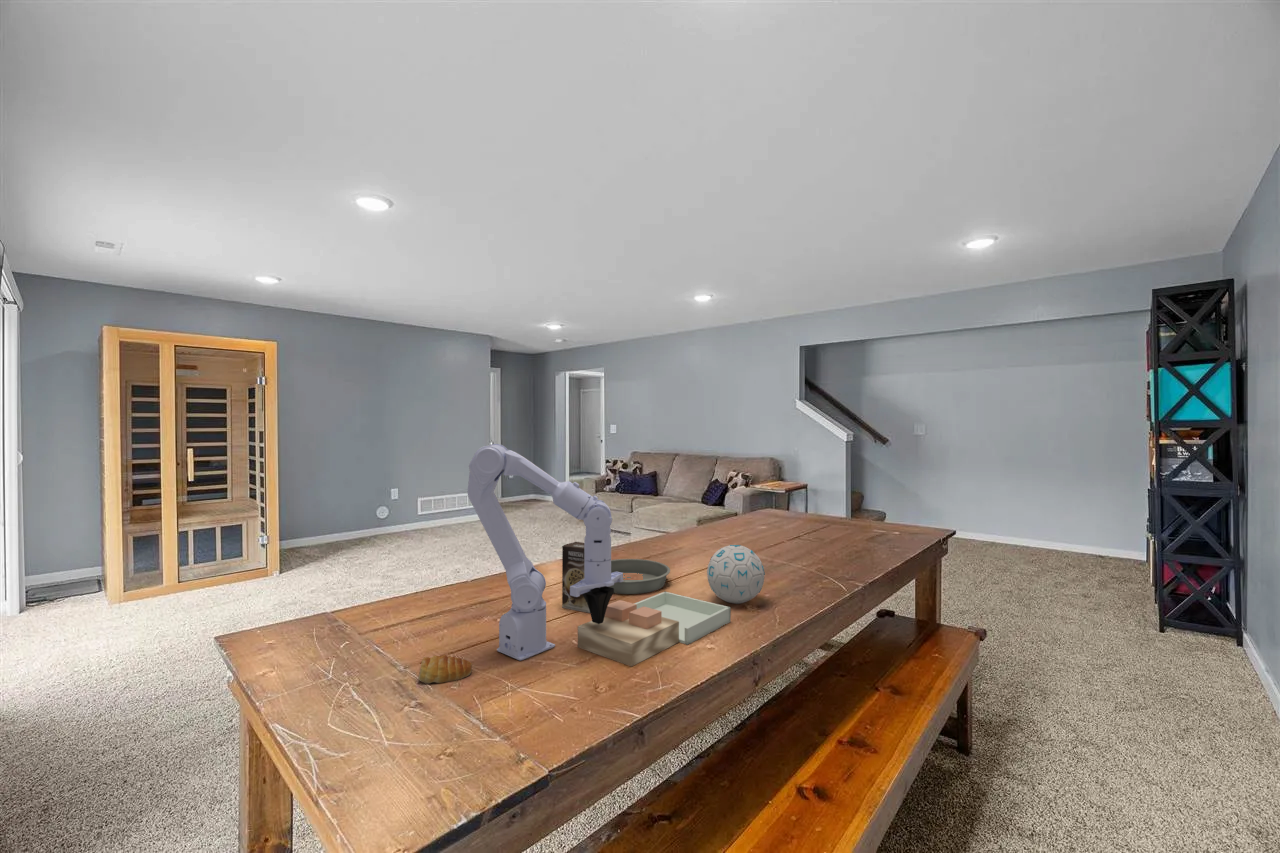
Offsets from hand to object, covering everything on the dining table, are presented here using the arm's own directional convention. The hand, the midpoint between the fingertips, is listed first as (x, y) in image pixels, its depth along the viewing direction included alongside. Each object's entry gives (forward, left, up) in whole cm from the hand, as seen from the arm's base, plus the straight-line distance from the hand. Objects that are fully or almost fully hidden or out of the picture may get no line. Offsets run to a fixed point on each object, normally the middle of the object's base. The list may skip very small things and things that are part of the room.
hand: (597, 622), depth 123 cm
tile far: (+7, 0, -1) cm, 8 cm away
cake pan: (+40, +26, -6) cm, 48 cm away
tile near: (+7, -7, -1) cm, 10 cm away
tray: (+22, -4, -5) cm, 23 cm away
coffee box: (+16, +21, -5) cm, 27 cm away
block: (+5, -4, -5) cm, 9 cm away
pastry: (-29, +13, -6) cm, 32 cm away
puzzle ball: (+45, -7, -5) cm, 46 cm away
